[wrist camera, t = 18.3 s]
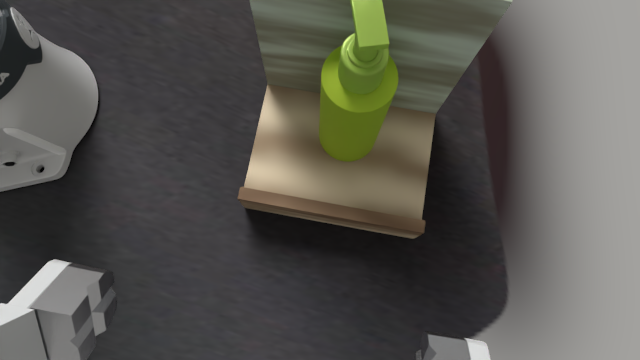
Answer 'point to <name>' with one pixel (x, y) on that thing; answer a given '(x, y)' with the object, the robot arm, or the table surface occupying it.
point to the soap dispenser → (357, 85)
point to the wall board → (398, 126)
